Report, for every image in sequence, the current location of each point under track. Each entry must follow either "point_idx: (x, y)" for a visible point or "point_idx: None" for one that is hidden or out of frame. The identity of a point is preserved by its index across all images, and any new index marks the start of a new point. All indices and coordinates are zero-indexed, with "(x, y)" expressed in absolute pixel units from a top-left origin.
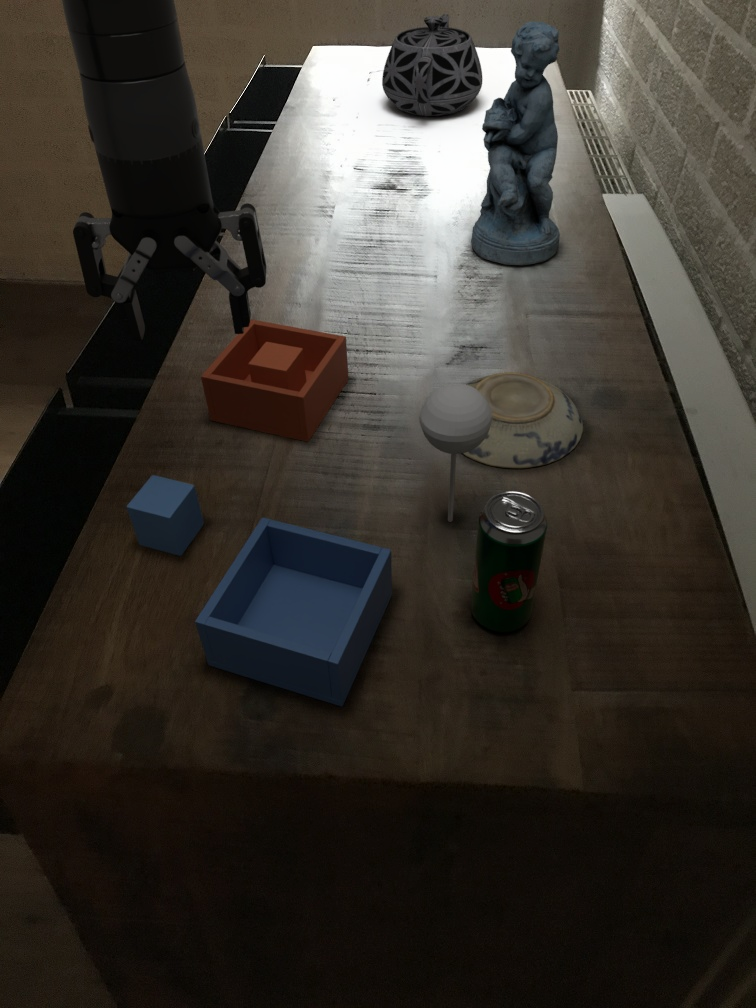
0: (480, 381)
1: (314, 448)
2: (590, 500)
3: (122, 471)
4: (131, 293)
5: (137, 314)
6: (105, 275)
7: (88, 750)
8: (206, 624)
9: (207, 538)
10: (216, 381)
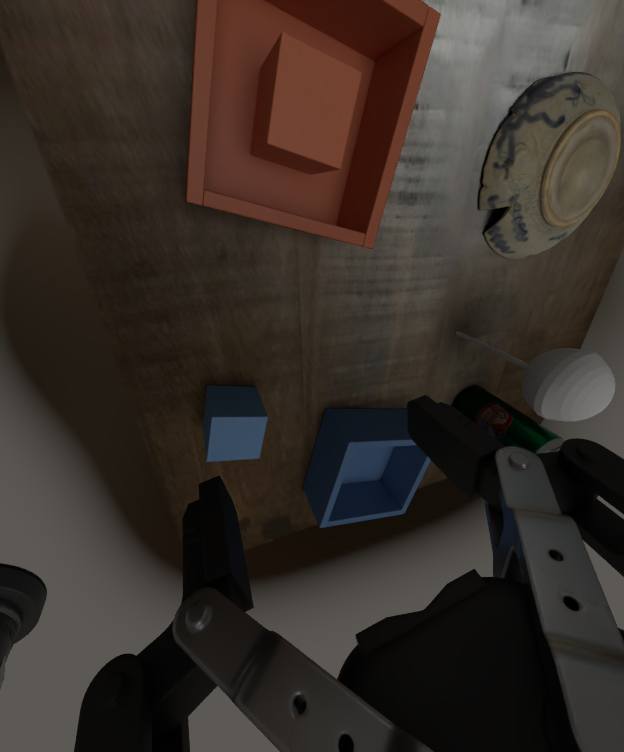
0: (564, 138)
1: (345, 251)
2: (552, 289)
3: (110, 335)
4: (234, 593)
5: (237, 545)
6: (163, 708)
7: (252, 545)
8: (328, 526)
9: (265, 400)
10: (221, 210)
